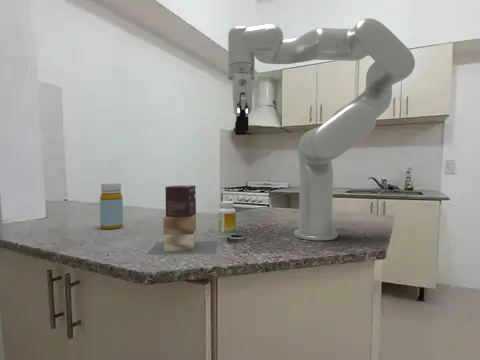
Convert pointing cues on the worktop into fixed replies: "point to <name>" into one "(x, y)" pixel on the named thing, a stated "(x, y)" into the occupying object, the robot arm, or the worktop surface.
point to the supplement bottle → (227, 217)
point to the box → (180, 201)
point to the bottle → (111, 206)
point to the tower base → (180, 242)
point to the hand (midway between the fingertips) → (241, 133)
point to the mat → (200, 248)
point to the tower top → (179, 225)
